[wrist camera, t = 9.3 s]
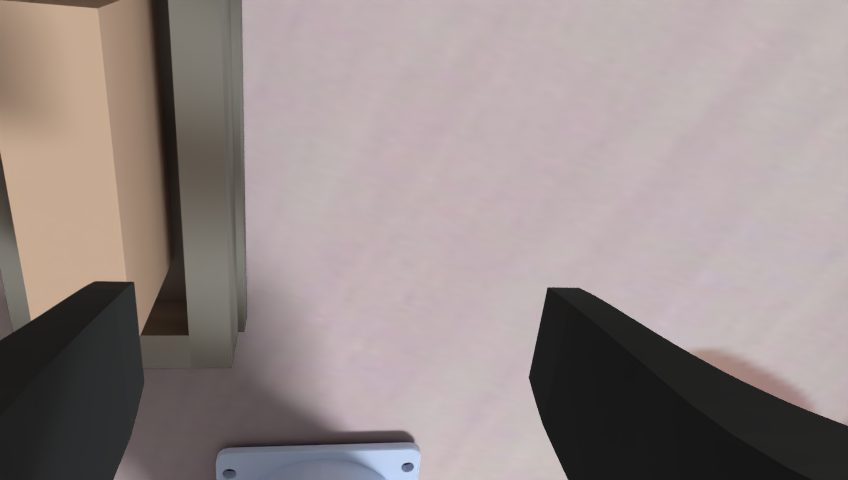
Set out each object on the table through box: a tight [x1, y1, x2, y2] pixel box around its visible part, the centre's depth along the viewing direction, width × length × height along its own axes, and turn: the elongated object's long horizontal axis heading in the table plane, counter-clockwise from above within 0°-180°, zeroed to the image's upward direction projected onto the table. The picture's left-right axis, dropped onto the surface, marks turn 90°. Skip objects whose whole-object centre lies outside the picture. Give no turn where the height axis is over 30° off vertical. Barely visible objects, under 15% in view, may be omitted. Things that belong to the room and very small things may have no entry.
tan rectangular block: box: [0, 0, 174, 335], centre depth 16 cm, size 8×2×5 cm, turn 174°
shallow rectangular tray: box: [0, 0, 247, 369], centre depth 18 cm, size 12×6×3 cm, turn 174°
